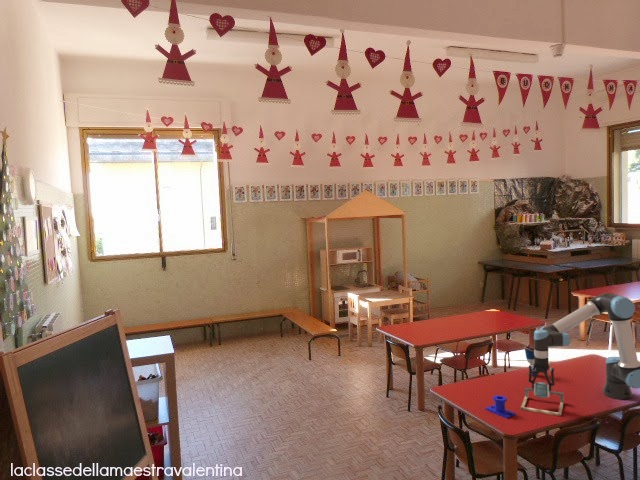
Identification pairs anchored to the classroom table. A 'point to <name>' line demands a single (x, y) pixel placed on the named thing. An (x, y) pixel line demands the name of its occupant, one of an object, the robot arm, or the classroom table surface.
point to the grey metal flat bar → (549, 393)
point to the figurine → (530, 358)
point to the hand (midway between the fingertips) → (541, 395)
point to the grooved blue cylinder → (541, 390)
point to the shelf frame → (541, 410)
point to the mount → (500, 407)
